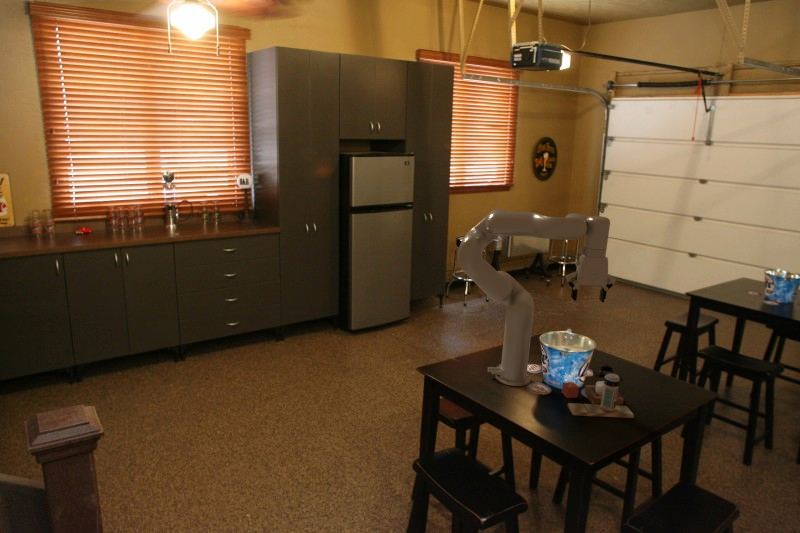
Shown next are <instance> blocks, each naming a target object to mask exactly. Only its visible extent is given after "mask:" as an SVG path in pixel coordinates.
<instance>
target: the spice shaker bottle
mask: <svg viewBox="0 0 800 533" xmlns="http://www.w3.org/2000/svg"><path fill="white" fill-rule="evenodd" d="M616 374H617V373H613V372H612V373H610V372H609V373H608V374H607V375H606V376H605V378H604V380H603V381H604V387H603V394H602V400H601V408H602V409H603V410H605V411H614V410H615V407H616V401H617V394H618V393H619V386H620V381H621V378H620V376H619V374H618V375H616Z"/></svg>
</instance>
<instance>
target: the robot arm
mask: <svg viewBox="0 0 800 533" xmlns="http://www.w3.org/2000/svg"><path fill="white" fill-rule="evenodd" d="M610 226H611V219H609V218H608V217H606V216H601V215H585V214H583V213H582V214H581V213H577V212H573V213H569V214H567V215H565V217H562V216H561V217H559V216H558V217H557V216H546V215H544V214H543V215H542V214H540V213H538V212H534V211H506V210H504V209H502V208H496V209H493V210H492V211H490V212H489V213H487V215H486V216H485V217H484V218H483V219H482V220H480V221H479V222H478V223H477V224H476V225H474V226H473V227H472V228H471V229H470V230H469V231H468V232H467V233H466V234H465V235H464V236H463V238H462V240H461V242H460V245H459V248H458V251H457V261H458V265H459V267H460V268H461V270H462V271H463V273H464V274H465V275H466V276H467V277H469V279H470V280H472V281H473V282H474V284H475V285H476V286H477V287H478V288H479V289H480V290H481V291H482V292H484V294H485V295H486V296H487V297H488V298H489V299H491V301H493V302H496V303H503V305H505V306H506V310H505V311H506V312H505V323H504V331H503V344H502V353H501V363H499V364H498V366H496V367H494V366H487V373H491V374H492V375H495V379H496V380H497V381H498V382H499V383H501V384H504V385H507V386H511V387H524V386H527V385H529V384H530V383H531V377H530V374H528V366H529V365H528V364H529V358H530V357H529V356H530V355H529V354H530V349H531V348H530V347H531V346H530V345H531V338H532V329H533V322H534V318H535V317H534V315H535V302H534V298H533V297H532V294H530V293H529V292H528V290H526V289H525V288H524V287H523V286H522V285H521V284H520V283H519V282H518V281H517V280H516V279H515V278H514V277H513V276H512V275H510V273H508V272H506V271H504V270H496V269H495V268H494V267H493V265H491V264H490V263H489V262H488V261H486V260H485V259H484V258H483V252H484V251H485V249H486V247H487V246H488V245H490V244H491V243H492V242H493V241H494V240H495V239H496V238H497V237H527V238H529V237H530V238H531V237H532V238H535V239H536V238H537V239H538V238H539V239H548V240H560V241H561V240H567V241H568V240H570V241H571V240H573V241H574V240H575V241H576V240H579V239H582V238H584V240H583V241H584V242H583V246H582V247H581V248H578V253H581V254H580V256H579V258H578V261H577V265H576V270H575V271H573V272H571V273H568V274H567V275H565V277H564V278H565V279H566V282H567V284H568V285H569V287H571V292H570V298H571V299H572V300H573V301H574V302H576V301H578V300H577V298H578V291H579V290H578V288H579V287H580V286H584V287H586V286H587V287H601V288H600V290H599V297H598V299H599V301H600V302H601V303H604V302H605V300H606V299H607V292H608V291H609V290H610V289H611V288H612V287H613V286H614V284H615V283H616V282H617V278H616V277H614V276H612V275H611V274H609V258H608V257H607V256H606V255H607V247H608V242H609V236H610V234H609V233H610ZM573 278H574V281H572V279H573ZM608 280H609V281H608Z"/></svg>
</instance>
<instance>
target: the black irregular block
mask: <svg viewBox="0 0 800 533" xmlns="http://www.w3.org/2000/svg"><path fill="white" fill-rule="evenodd" d="M613 372H614V369H613V365H612V364H610V363H601V365H600V367H599V370H597V371H596V370H592V376H593V377H596V378H603V379H605V376H606V375H607V374H608V373H613ZM615 374H616V375H618V376H619V374H618V373H615Z"/></svg>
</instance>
